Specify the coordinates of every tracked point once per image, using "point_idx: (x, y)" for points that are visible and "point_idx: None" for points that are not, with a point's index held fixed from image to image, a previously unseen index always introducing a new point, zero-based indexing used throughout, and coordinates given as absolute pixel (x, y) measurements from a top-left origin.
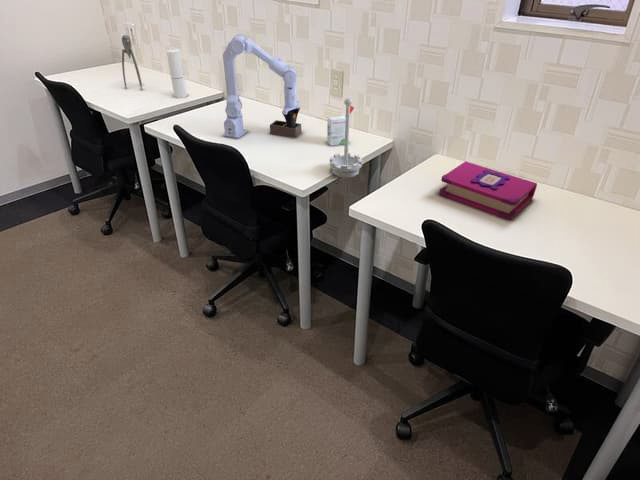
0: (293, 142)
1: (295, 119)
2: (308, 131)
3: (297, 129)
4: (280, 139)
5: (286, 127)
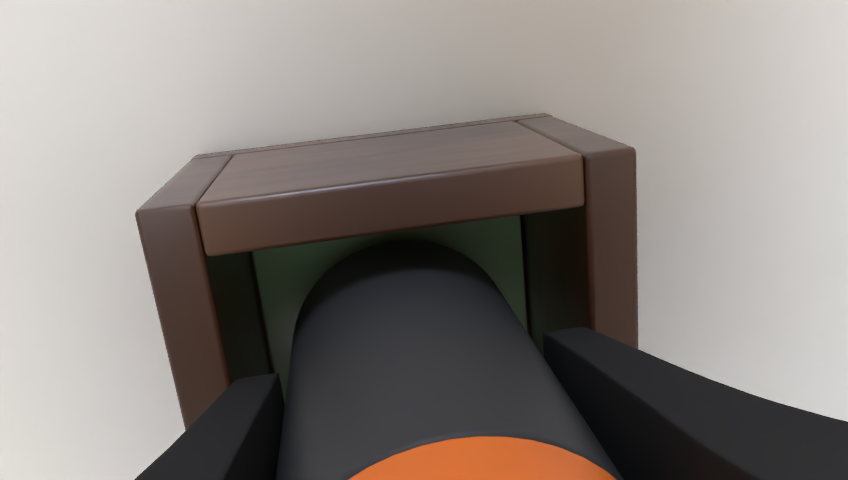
0: (794, 19)
1: (402, 383)
2: (5, 38)
3: (455, 154)
4: (735, 338)
5: None
